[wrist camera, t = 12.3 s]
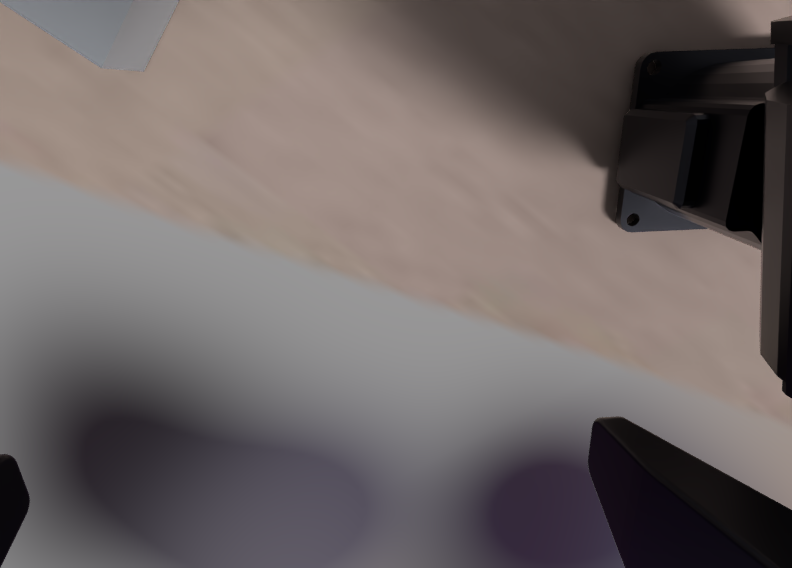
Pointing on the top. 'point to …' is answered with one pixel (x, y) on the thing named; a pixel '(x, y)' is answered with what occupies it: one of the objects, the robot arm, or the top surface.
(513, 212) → the top surface
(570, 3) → the top surface
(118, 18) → the dial scale
